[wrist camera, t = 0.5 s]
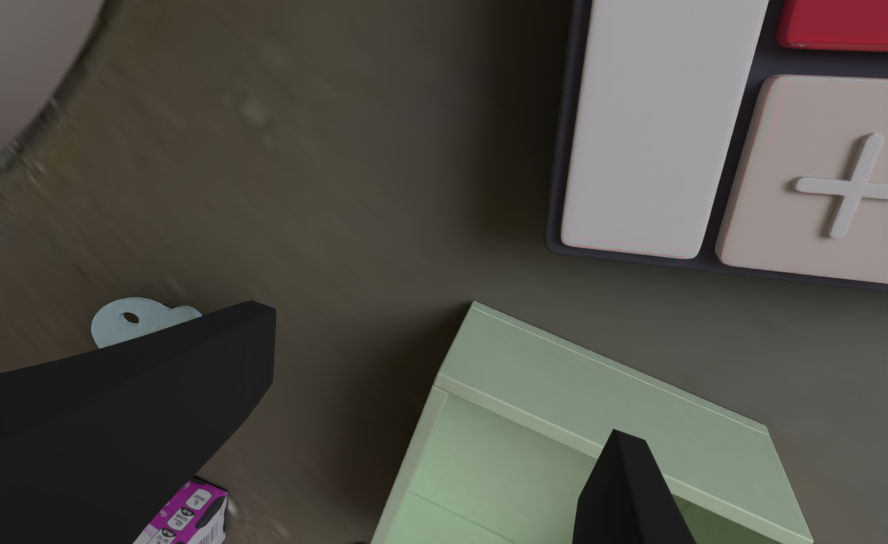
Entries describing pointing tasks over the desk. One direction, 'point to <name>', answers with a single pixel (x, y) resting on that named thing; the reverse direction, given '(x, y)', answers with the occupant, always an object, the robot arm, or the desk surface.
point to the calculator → (726, 138)
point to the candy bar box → (190, 517)
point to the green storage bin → (570, 447)
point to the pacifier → (151, 315)
